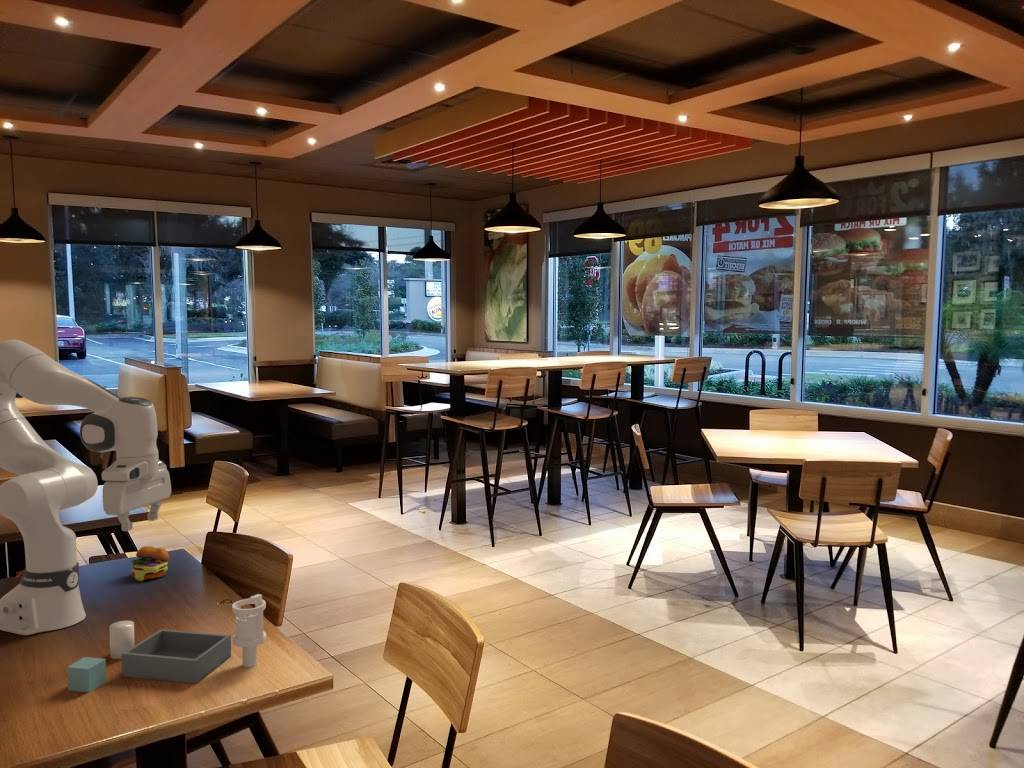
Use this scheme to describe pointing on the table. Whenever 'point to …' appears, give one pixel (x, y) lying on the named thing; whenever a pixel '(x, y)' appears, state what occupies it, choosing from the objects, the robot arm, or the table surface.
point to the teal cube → (86, 674)
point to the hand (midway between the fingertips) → (140, 525)
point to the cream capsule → (121, 638)
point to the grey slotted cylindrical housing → (249, 628)
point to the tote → (176, 656)
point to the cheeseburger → (150, 563)
